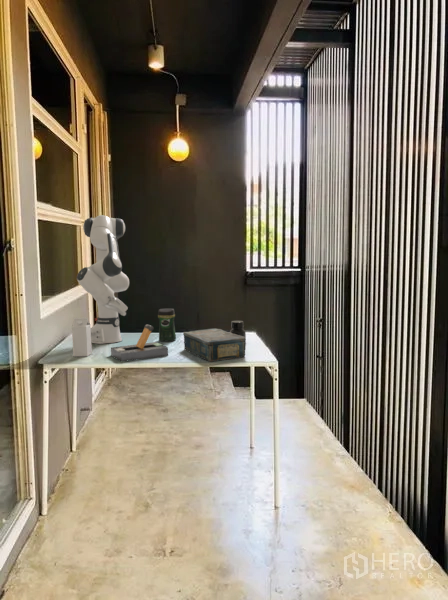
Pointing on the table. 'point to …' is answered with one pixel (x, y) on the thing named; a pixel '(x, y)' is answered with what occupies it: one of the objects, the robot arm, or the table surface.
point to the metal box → (214, 344)
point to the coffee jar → (166, 324)
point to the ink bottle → (238, 328)
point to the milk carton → (81, 337)
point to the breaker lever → (144, 336)
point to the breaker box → (139, 351)
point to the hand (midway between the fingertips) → (124, 314)
